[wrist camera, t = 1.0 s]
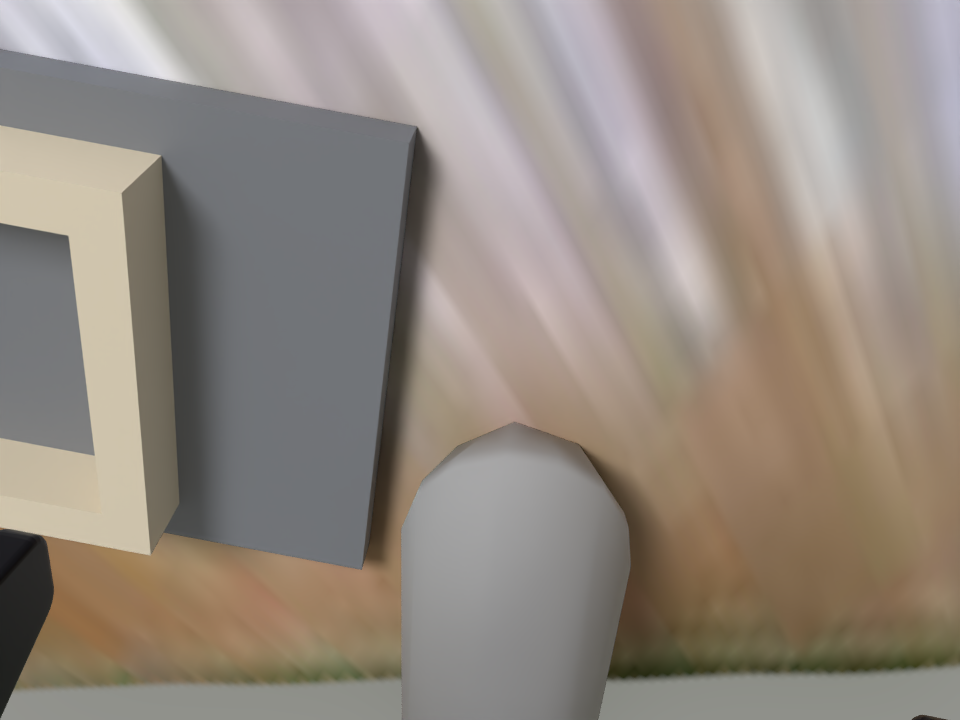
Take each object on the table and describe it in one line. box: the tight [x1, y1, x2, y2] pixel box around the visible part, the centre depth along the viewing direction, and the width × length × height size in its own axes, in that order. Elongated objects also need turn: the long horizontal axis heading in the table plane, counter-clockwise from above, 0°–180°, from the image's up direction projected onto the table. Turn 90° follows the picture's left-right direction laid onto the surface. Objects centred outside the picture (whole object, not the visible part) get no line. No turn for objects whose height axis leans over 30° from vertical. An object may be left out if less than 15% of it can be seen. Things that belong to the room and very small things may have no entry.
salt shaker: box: [401, 422, 631, 720], centre depth 20 cm, size 6×6×13 cm
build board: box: [0, 49, 417, 570], centre depth 22 cm, size 16×13×3 cm
